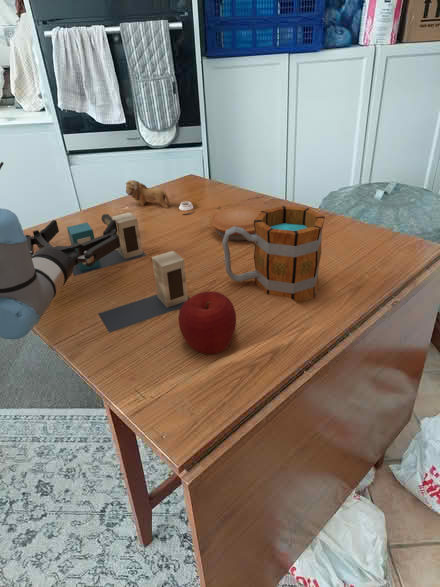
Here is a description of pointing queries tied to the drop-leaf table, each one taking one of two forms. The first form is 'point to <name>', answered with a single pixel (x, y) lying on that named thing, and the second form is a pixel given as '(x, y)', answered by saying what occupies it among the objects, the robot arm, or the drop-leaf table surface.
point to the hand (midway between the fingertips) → (85, 225)
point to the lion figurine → (146, 193)
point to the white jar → (186, 207)
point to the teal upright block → (81, 240)
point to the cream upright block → (170, 278)
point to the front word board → (135, 313)
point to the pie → (235, 221)
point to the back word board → (107, 262)
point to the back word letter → (128, 235)
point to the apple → (207, 322)
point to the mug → (283, 252)
